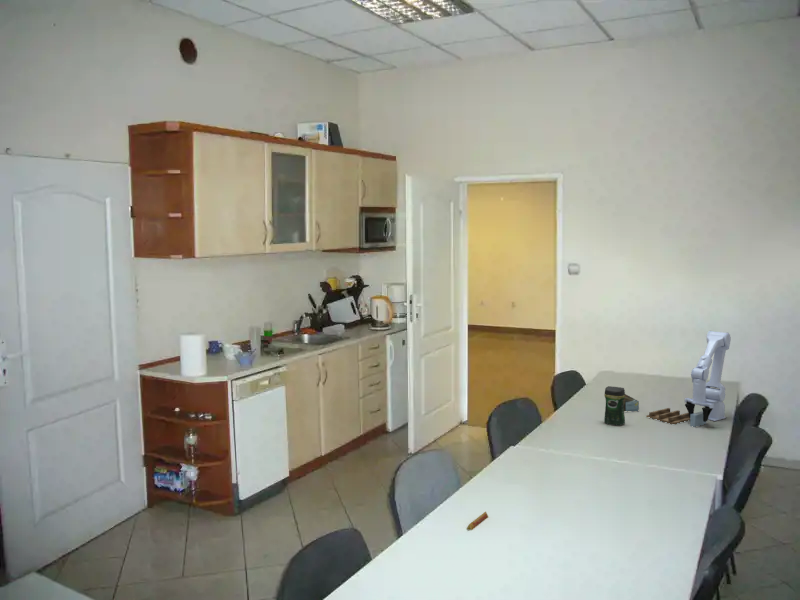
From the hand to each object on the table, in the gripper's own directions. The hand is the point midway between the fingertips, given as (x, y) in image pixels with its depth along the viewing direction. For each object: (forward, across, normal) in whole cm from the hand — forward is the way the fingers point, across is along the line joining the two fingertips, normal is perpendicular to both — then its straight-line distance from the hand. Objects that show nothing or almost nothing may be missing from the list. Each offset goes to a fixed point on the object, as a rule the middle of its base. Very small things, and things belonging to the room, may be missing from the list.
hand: (698, 419), depth 336 cm
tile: (+3, 0, 0) cm, 3 cm away
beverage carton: (+3, -43, -3) cm, 43 cm away
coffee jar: (+3, -25, -31) cm, 40 cm away
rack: (+3, -15, -2) cm, 15 cm away
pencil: (+4, +27, -158) cm, 160 cm away
